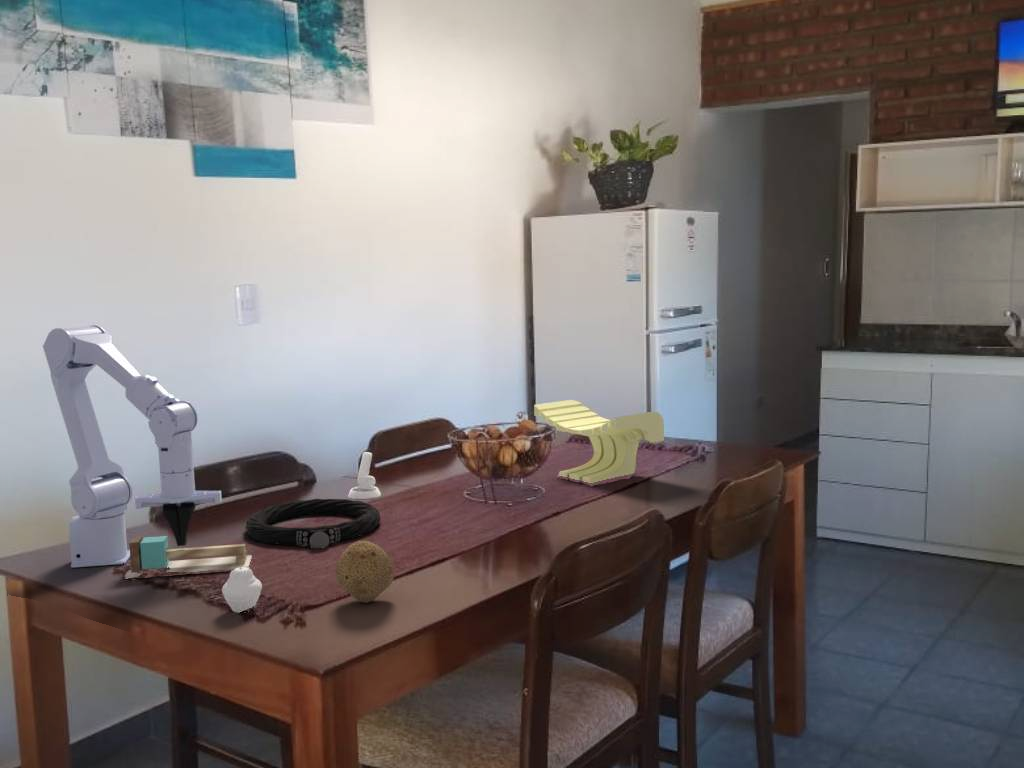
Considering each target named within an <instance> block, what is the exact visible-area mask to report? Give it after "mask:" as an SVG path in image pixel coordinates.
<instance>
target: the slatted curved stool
mask: <svg viewBox="0 0 1024 768" xmlns="http://www.w3.org/2000/svg"><path fill="white" fill-rule="evenodd" d="M533 408H534V409H533V411H534V412H533V413H534V414H533V415H534V417H541V418H540V420H541V421H542V422H548V427H549V426H550V427H555V431H557V432H563V433H568V434H573V435H574V434H575V435H580V436H583V437H584V436H585V437H588V438H589V440H590V442H591V445H592V448H593V456H592V458H591V459H590V460H589V461H587V462H586V463H584V464H581V465H579V466H577V467H572V468H570V469H565V470H561V471H560V470H559V472H558V475H557V477H558V476H563V477H569V478H571V479H575V480H582V481H584V482H588V483H594V482H598V481H602V480H606V479H611V478H615V477H619V476H624V475H629V474H633V473H634V474H635V470H636V463H637V461H636V460H637V454H638V453H637V452H638V450H639V449H638V448H639V445H640V440H645V441H647V442H649V443H650V444H652V443H656V442H663V441H665V425H664V423H665V421H664V419H663V416H662V415H661V414H660V413H659V412H658V411H654V410H653V411H649V412H642V413H641V412H640V413H635V414H629V415H622V416H617V417H614V418H613V419H608V418H605V417H602V416H600V415H599V414H598V413H596V412H594V411H592V410H591V409H590V408H588V407H587V406H586V405H585V406H584V404H583V403H582V402H580V401H577V400H575V399H567V400H558V401H552V402H545V403H538V404H534V405H533Z"/></svg>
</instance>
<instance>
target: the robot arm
mask: <svg viewBox="0 0 1024 768" xmlns="http://www.w3.org/2000/svg"><path fill="white" fill-rule="evenodd" d="M42 348H43V352H44V355H45V358H46V362H47V364H48V369H49V371H50V379H51V383H52V385H53V386H52V387H53V389H54V392H55V397H56V399H57V402H58V404H59V405H58V406H59V409H60V412H61V416H62V418H63V423H64V424H65V428H66V431H67V435H68V437H69V441H70V445H71V447H72V451H73V455H74V458H75V462H76V464H77V469H76V471H75V472H74V473H73V475H72V476H71V477H70V479H69V481H68V483H69V486H70V493H71V494H70V500H71V501H70V502H71V505H72V508H73V510H74V511H75V512H76V513H77V515H74V516H72V517H71V519H70V523H69V532H68V533H69V534H68V535H69V543H70V544H69V545H70V556H71V557H70V558H71V564H70V568H85V567H96V566H110V565H111V566H112V565H123V563H124V564H126V563H127V561H128V560H129V558H130V549H128V544H127V529H126V519H125V518H126V516H125V512H126V511H127V510H128V504H130V503H131V501H132V498H133V487H132V484H131V482H130V480H129V478H127V476H126V475H125V473H124V470H123V467H122V466H121V465H120V464H118V463H117V462H115V461H113V460H111V459H110V458H109V454H108V452H107V449H106V445H105V442H104V438H103V435H102V432H101V428H100V426H99V421H98V418H97V416H96V413H95V409H94V405H93V402H92V399H91V396H90V393H89V389H88V386H87V383H86V378H87V376H88V374H89V372H91V371H92V370H93V369H94V368H95V367H96V366H98V367H99V369H101V370H103V372H105V373H106V374H107V375H109V376H110V377H111V378H113V379H114V380H115V381H116V382H117V383H118V384H120V385H121V386H122V387H123V388H124V389H125V398H126V399H127V401H128V402H130V403H131V404H132V405H133V406H134V408H136V409H137V410H138V411H139V412H141V414H142V415H143V416H144V417H146V418H147V419H148V420H149V421H148V422H147V423H148V427H149V429H150V432H151V433H152V435H153V437H154V441H155V445H156V447H157V449H158V459H159V460H158V462H159V476H160V489H161V492H159V493H153V494H152V493H151V494H145V495H144V494H143V495H137V496H136V497H135V498H134V500H135V509H143V508H155V507H162V511H161V512H162V515H163V516H164V518H165V519H166V521H167V522H168V524H169V526H170V528H171V531H172V533H173V535H174V539H175V542H176V547H184V546H186V545H187V543H188V536H189V535H188V534H189V528H190V524H191V521H192V518H193V515H194V512H195V510H196V506H197V505H200V504H221V503H222V499H223V498H222V490H196V484H195V470H194V468H195V467H194V466H195V465H194V455H193V453H194V452H193V440H192V439H193V438H192V437H193V436H192V431H194V430H195V428H196V427H197V424H198V414H197V411H196V409H195V407H194V406H193V405H192V403H191V402H190V401H187V400H179V399H178V398H176V397H175V396H174V395H173V394H170V392H169V391H167V390H166V389H165V388H164V387H163V386H162V385H161V384H160V383H159V379H157V377H155V376H154V375H153V376H152V375H149V374H144V375H143V374H140V373H139V372H138V371H137V369H136V368H135V367H134V366H133V365H132V364H131V363H130V362H129V361H128V359H126V358H125V357H124V355H123V354H122V353H121V352H120V351H119V350H118V348H116V346H115V345H114V342H113V336H112V335H110V334H109V333H108V332H107V331H106V330H105V329H104V328H103V327H102V326H100V325H98V324H92V325H88V326H81V327H80V326H79V327H66V328H62V327H57V328H53V329H51V331H49V332H48V334H47V336H46V339H45V340H44V343H43V345H42ZM96 478H99V479H96ZM93 479H95V480H93Z"/></svg>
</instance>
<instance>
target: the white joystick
mask: <svg viewBox="0 0 1024 768" xmlns="http://www.w3.org/2000/svg"><path fill="white" fill-rule="evenodd" d="M372 457H373V453H372V452H369V451H364V452H363V453H362V456H361V461H360V466H359V470H358V474H357V480H356V483H357V486H355V487H352V488H351V489H350V490H349V493H348V495H347V497H348V498H350V499H352V500H369V499H370V500H371V499H374V498H378V497H380V496H381V495H382V494H381V491H380V489H379V488H378V487H377V486H375V485H376V478H375V477H374V476H373V475H369V474H370V469H371V463H372Z"/></svg>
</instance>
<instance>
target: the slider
mask: <svg viewBox="0 0 1024 768" xmlns="http://www.w3.org/2000/svg"><path fill="white" fill-rule="evenodd" d="M168 540H169V538H168V535H160V536H148V537H147V536H146V537H143V540H142V541H141V543H140V548H141V561H142V569H155V568H166V566H167V565H168V563H169V561H170V559H166V553H165V550H167V549H169V541H168Z"/></svg>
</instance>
